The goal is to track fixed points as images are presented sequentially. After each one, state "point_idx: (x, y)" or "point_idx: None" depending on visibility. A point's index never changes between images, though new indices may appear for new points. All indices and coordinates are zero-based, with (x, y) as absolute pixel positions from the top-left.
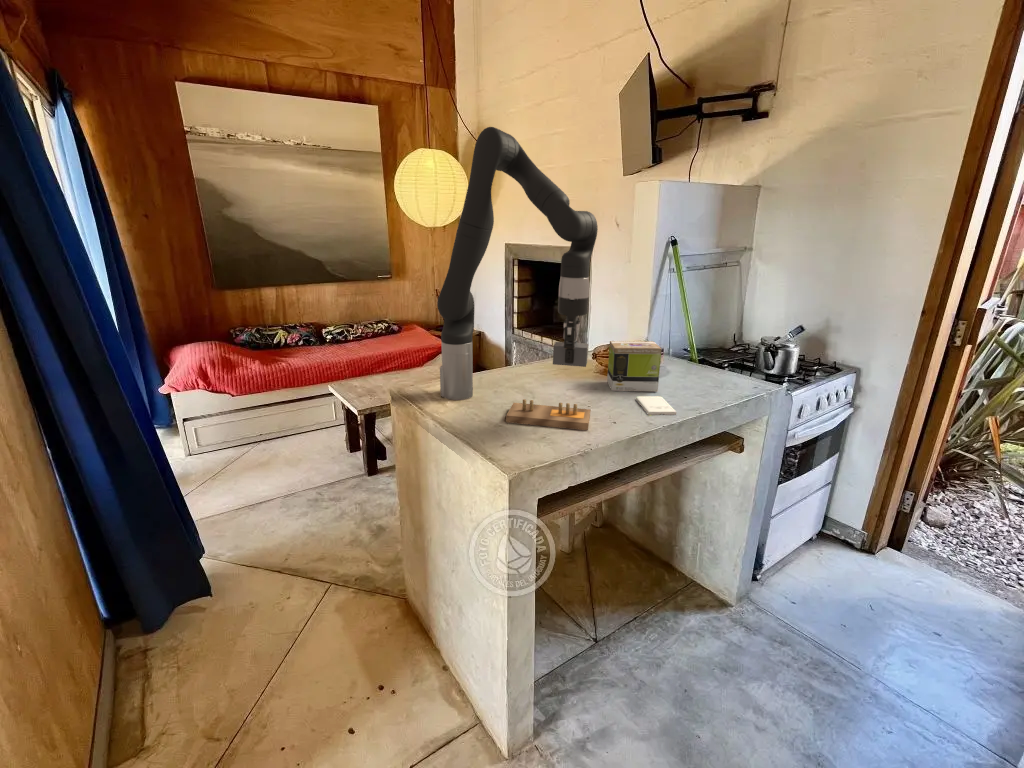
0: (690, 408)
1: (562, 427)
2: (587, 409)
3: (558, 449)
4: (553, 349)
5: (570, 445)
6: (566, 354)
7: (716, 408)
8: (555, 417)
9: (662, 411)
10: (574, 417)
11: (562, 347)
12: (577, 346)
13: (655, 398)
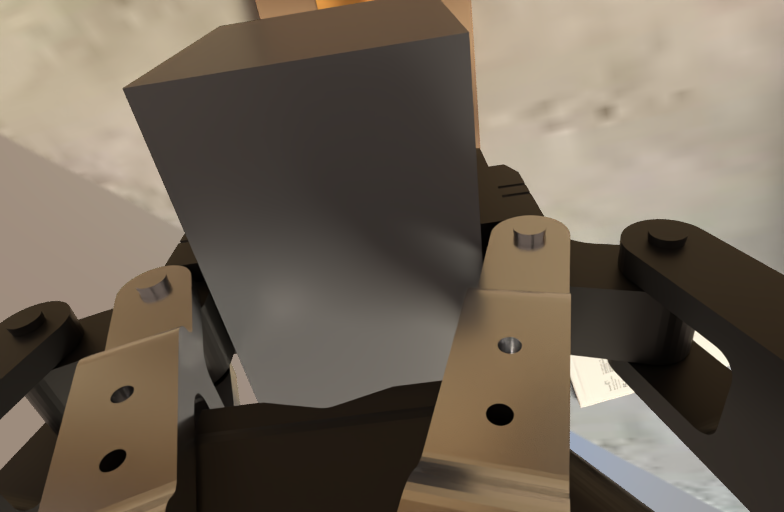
0: (646, 426)
1: None
2: (477, 143)
3: (52, 101)
4: (149, 73)
5: (123, 138)
6: (174, 253)
7: (657, 474)
8: (297, 9)
9: (573, 377)
10: None
11: (194, 226)
12: (301, 391)
13: (712, 349)
